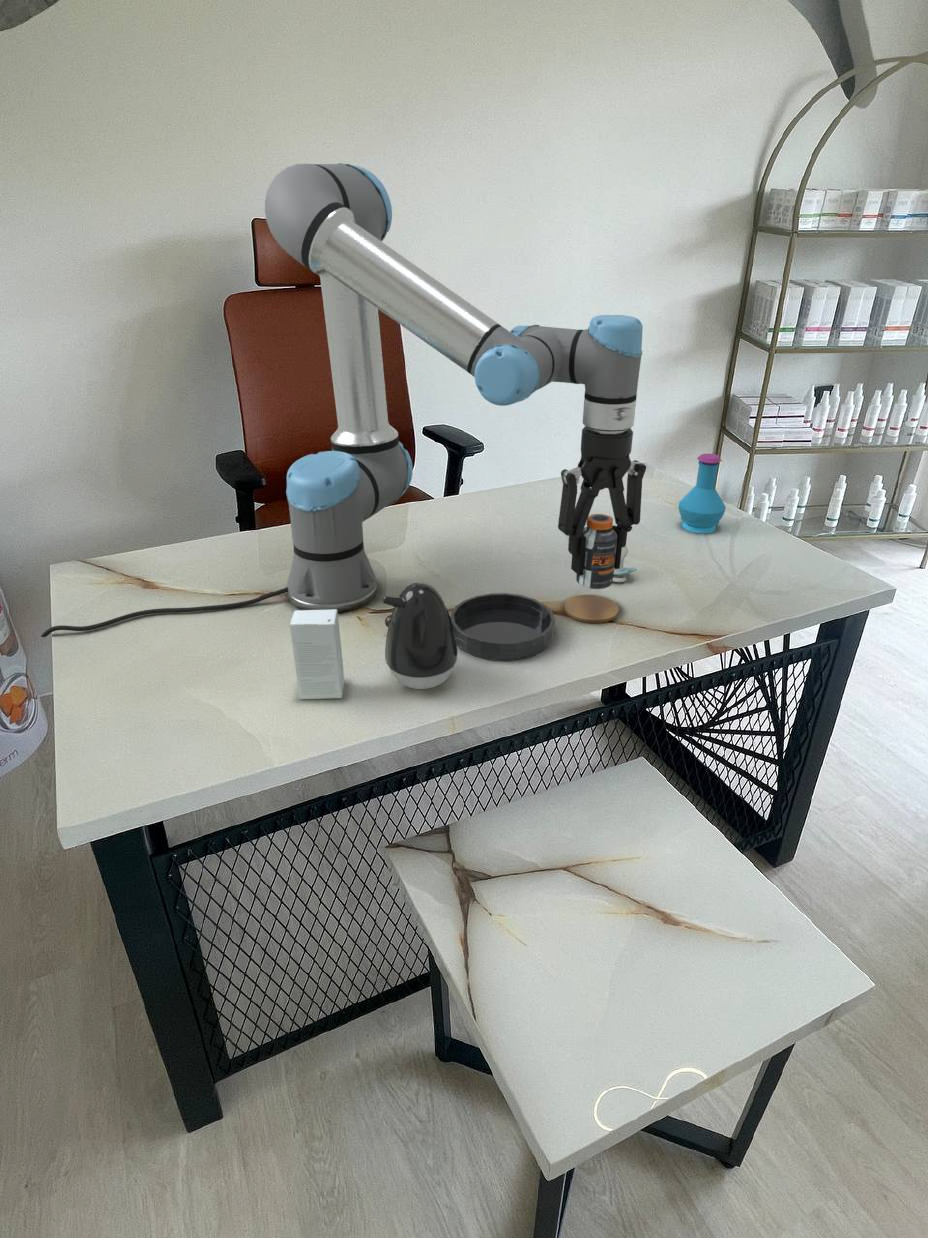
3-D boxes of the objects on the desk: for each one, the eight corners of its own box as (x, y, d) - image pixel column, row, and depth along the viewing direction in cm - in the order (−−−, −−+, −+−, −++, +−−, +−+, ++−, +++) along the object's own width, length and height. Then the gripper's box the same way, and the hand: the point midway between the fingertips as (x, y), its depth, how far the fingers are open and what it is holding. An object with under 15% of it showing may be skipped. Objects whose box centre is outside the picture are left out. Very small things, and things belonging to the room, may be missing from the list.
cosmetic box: (345, 682, 115) (338, 608, 109) (342, 699, 111) (335, 624, 105) (302, 683, 114) (293, 609, 109) (297, 700, 111) (288, 624, 105)
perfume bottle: (667, 521, 168) (676, 451, 160) (706, 516, 170) (717, 447, 163) (691, 538, 160) (702, 465, 153) (731, 532, 162) (743, 461, 155)
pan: (472, 669, 118) (472, 651, 116) (436, 618, 131) (436, 602, 130) (571, 649, 123) (572, 632, 121) (527, 602, 136) (528, 586, 135)
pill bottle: (590, 593, 128) (596, 527, 122) (568, 579, 132) (573, 514, 127) (620, 585, 130) (626, 520, 125) (597, 571, 135) (603, 507, 129)
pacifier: (617, 588, 141) (640, 578, 144) (620, 556, 138) (643, 546, 141) (587, 574, 146) (609, 564, 149) (589, 542, 143) (612, 533, 146)
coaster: (579, 627, 129) (580, 624, 128) (554, 602, 136) (555, 599, 136) (628, 617, 131) (629, 614, 131) (601, 594, 139) (601, 590, 139)
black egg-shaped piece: (375, 669, 118) (369, 576, 110) (441, 654, 121) (439, 563, 114) (399, 706, 109) (394, 608, 102) (468, 689, 113) (469, 593, 106)
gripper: (561, 440, 113) (552, 587, 124) (676, 427, 119) (658, 569, 130) (538, 427, 119) (532, 568, 130) (649, 415, 125) (634, 551, 136)
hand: (595, 568), depth 130 cm, fingers closed on pill bottle, 6 cm apart
